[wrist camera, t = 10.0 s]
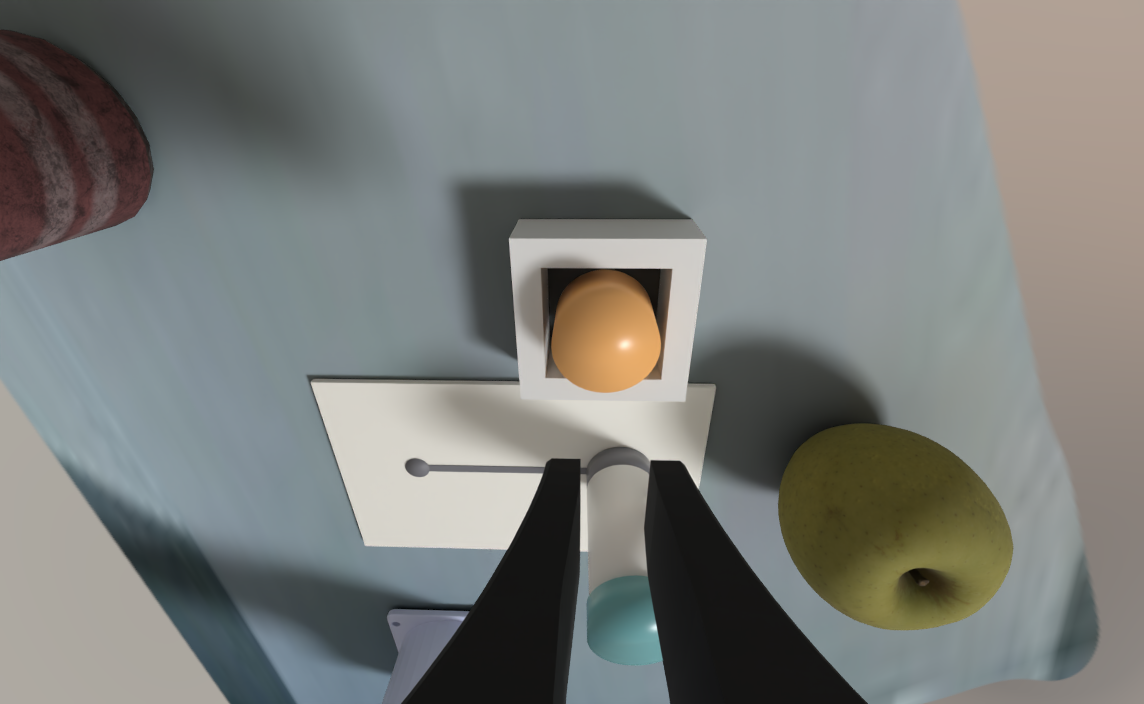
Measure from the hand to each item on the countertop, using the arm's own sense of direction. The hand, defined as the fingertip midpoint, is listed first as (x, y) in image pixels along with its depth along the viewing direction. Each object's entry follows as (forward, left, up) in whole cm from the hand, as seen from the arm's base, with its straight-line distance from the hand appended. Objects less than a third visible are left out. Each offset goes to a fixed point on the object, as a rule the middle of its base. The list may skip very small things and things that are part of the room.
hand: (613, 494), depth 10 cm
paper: (-10, +4, -10) cm, 15 cm away
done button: (0, 0, -9) cm, 9 cm away
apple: (-8, -11, -11) cm, 18 cm away
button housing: (0, 0, -10) cm, 10 cm away
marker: (-9, -1, -10) cm, 14 cm away
